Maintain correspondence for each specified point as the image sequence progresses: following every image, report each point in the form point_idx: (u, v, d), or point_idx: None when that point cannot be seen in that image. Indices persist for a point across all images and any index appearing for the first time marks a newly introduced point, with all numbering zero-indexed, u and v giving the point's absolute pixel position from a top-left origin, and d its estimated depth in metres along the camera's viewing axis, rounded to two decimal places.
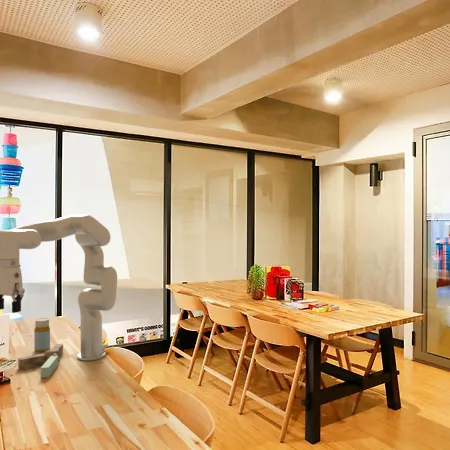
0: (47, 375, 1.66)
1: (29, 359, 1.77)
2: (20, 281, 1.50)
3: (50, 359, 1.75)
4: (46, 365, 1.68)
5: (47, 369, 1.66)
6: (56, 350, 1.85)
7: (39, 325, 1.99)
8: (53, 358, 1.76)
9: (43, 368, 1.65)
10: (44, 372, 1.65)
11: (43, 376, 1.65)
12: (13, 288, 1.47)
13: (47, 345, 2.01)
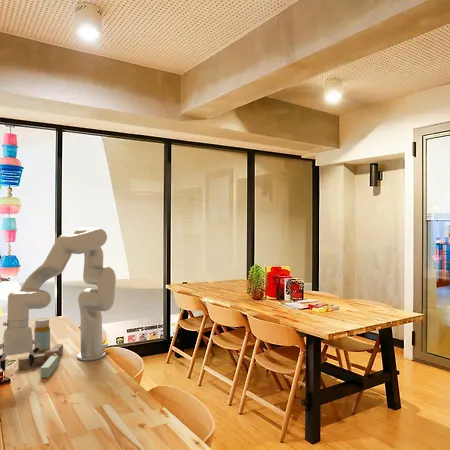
0: (47, 375, 1.66)
1: None
2: (4, 342, 1.57)
3: (50, 359, 1.75)
4: (46, 365, 1.68)
5: (47, 369, 1.66)
6: (56, 350, 1.85)
7: (39, 325, 1.99)
8: (53, 358, 1.76)
9: (43, 368, 1.65)
10: (44, 372, 1.65)
11: (43, 376, 1.65)
12: None
13: (47, 345, 2.01)
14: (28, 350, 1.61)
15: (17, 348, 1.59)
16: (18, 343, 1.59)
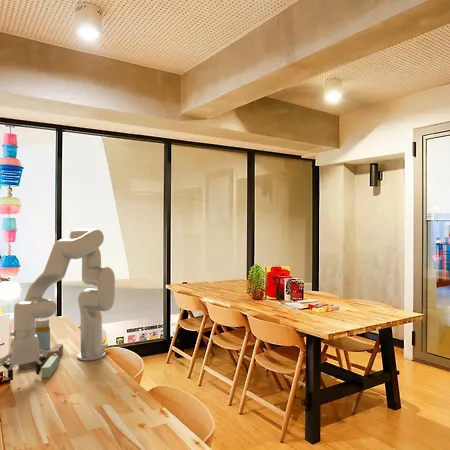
0: (48, 375, 1.66)
1: None
2: (11, 352, 1.59)
3: (50, 359, 1.75)
4: (47, 365, 1.68)
5: (48, 369, 1.66)
6: (56, 350, 1.85)
7: (39, 325, 1.99)
8: (53, 358, 1.77)
9: (44, 368, 1.65)
10: (45, 372, 1.65)
11: (44, 376, 1.65)
12: None
13: (47, 345, 2.01)
14: (35, 359, 1.63)
15: (24, 358, 1.60)
16: (25, 352, 1.61)
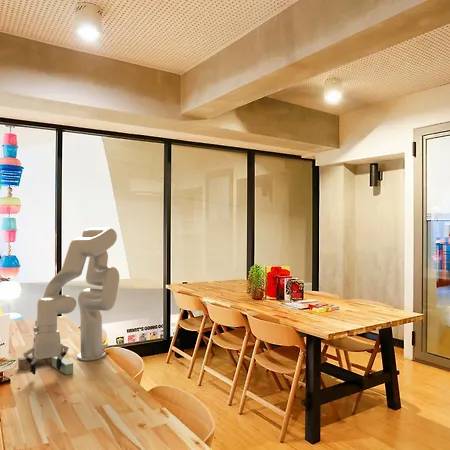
0: (72, 371, 1.70)
1: None
2: (34, 346, 1.63)
3: None
4: (67, 362, 1.72)
5: (72, 365, 1.70)
6: None
7: None
8: None
9: (68, 365, 1.69)
10: (69, 368, 1.70)
11: (68, 372, 1.69)
12: None
13: None
14: (57, 354, 1.67)
15: (46, 352, 1.65)
16: (48, 347, 1.65)
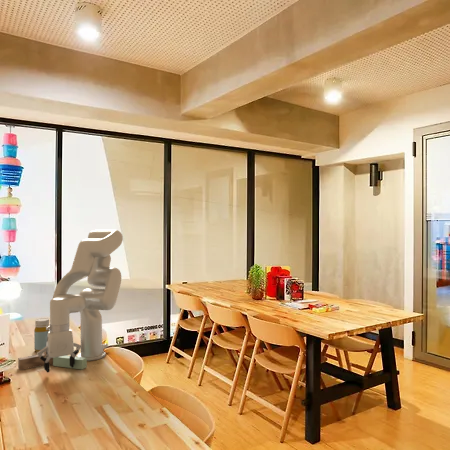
0: (86, 365, 1.77)
1: (29, 359, 1.77)
2: (48, 345, 1.67)
3: (64, 356, 1.79)
4: (79, 358, 1.77)
5: (86, 359, 1.77)
6: None
7: (39, 325, 1.99)
8: None
9: (83, 360, 1.75)
10: (84, 363, 1.76)
11: (83, 367, 1.75)
12: None
13: None
14: (70, 352, 1.71)
15: (60, 351, 1.68)
16: (61, 346, 1.69)
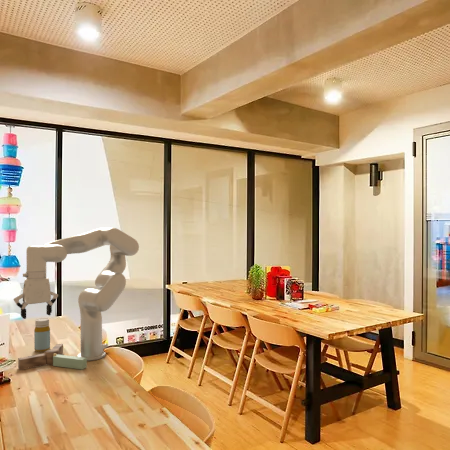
0: (86, 365, 1.77)
1: (29, 359, 1.77)
2: (24, 292, 1.67)
3: (64, 356, 1.79)
4: (79, 358, 1.77)
5: (86, 359, 1.77)
6: (56, 350, 1.85)
7: (39, 325, 1.99)
8: (63, 355, 1.80)
9: (83, 360, 1.75)
10: (84, 363, 1.76)
11: (83, 367, 1.75)
12: (22, 296, 1.69)
13: (47, 345, 2.01)
14: (47, 300, 1.72)
15: (37, 298, 1.69)
16: (38, 293, 1.69)
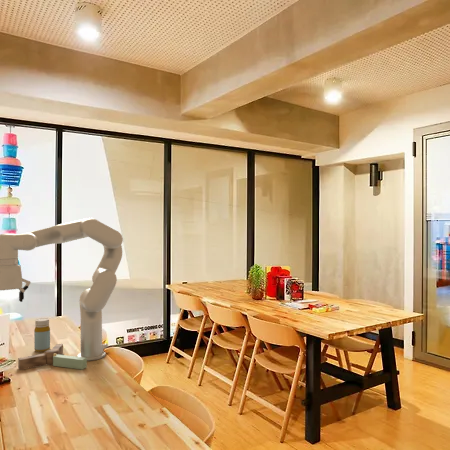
0: (86, 365, 1.77)
1: (29, 359, 1.77)
2: None
3: (64, 356, 1.79)
4: (79, 358, 1.77)
5: (86, 359, 1.77)
6: (56, 350, 1.85)
7: (39, 325, 1.99)
8: (63, 355, 1.80)
9: (83, 360, 1.75)
10: (84, 363, 1.76)
11: (83, 367, 1.75)
12: None
13: (47, 345, 2.01)
14: (18, 286, 1.76)
15: (8, 284, 1.73)
16: (9, 279, 1.74)
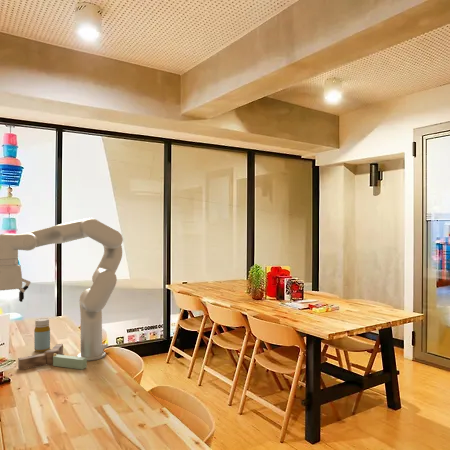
0: (86, 365, 1.77)
1: (29, 359, 1.77)
2: None
3: (64, 356, 1.79)
4: (79, 358, 1.77)
5: (86, 359, 1.77)
6: (56, 350, 1.85)
7: (39, 325, 1.99)
8: (63, 355, 1.80)
9: (83, 360, 1.75)
10: (84, 363, 1.76)
11: (83, 367, 1.75)
12: None
13: (47, 345, 2.01)
14: (18, 286, 1.76)
15: (8, 284, 1.73)
16: (9, 279, 1.74)
